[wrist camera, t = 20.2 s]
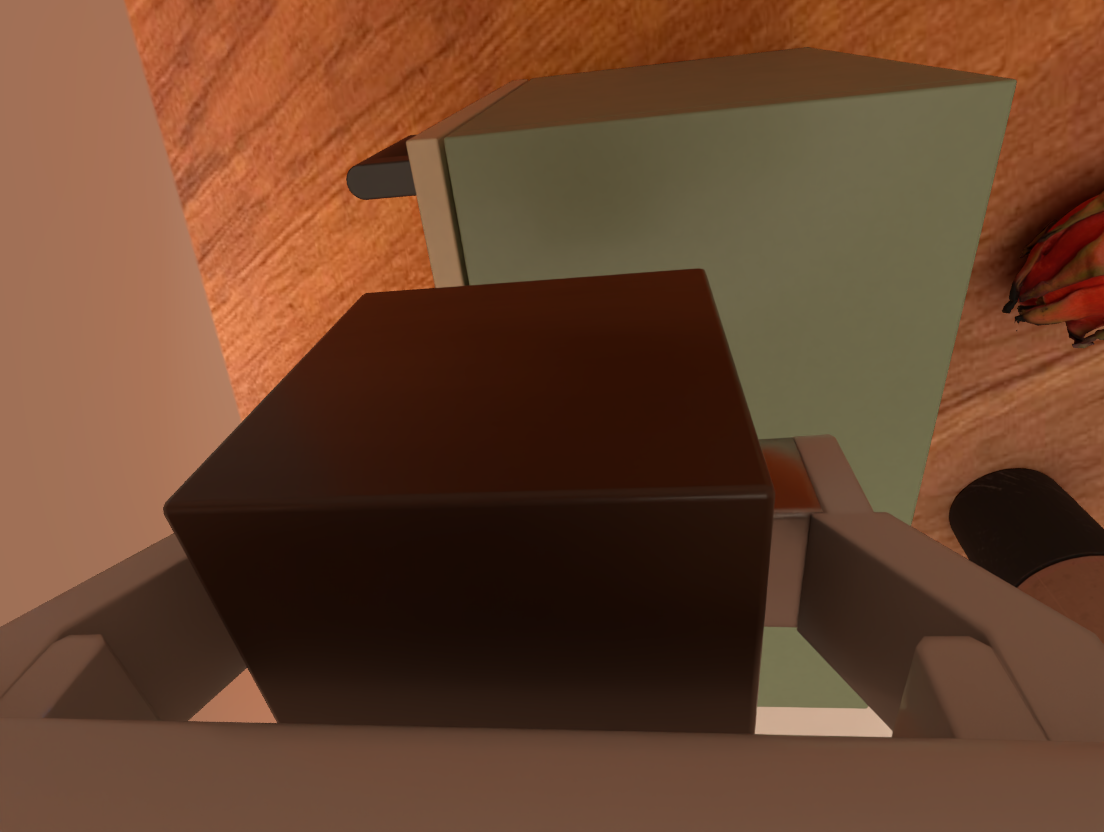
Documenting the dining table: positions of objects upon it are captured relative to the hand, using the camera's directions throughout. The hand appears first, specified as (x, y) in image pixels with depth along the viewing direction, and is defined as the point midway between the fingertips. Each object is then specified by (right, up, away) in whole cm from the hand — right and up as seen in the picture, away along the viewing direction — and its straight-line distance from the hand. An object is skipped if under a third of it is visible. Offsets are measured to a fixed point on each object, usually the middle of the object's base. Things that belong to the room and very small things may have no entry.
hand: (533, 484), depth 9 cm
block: (0, +1, +1) cm, 2 cm away
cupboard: (+7, +9, +30) cm, 32 cm away
